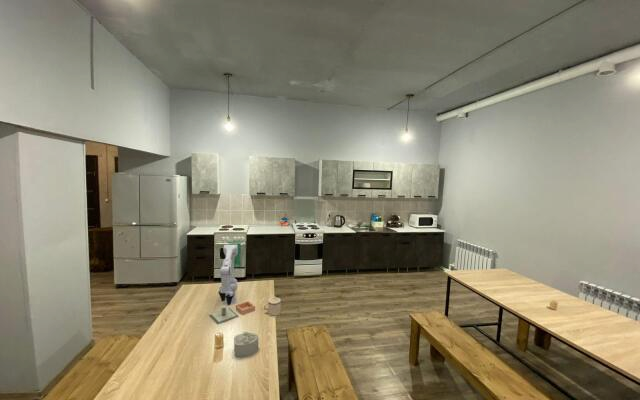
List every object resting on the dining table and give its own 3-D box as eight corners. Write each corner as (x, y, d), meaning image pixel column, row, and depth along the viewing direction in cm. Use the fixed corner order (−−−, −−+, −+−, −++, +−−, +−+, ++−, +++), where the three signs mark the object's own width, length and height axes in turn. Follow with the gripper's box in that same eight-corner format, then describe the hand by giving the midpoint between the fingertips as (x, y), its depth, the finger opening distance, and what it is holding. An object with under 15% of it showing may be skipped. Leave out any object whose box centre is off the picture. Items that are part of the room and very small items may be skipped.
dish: (235, 310, 195) (235, 305, 194) (248, 306, 201) (248, 300, 201) (242, 316, 187) (242, 310, 187) (255, 311, 194) (255, 306, 194)
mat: (208, 315, 186) (208, 315, 186) (229, 308, 196) (229, 308, 196) (217, 325, 175) (217, 324, 175) (239, 317, 185) (239, 316, 185)
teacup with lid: (280, 308, 198) (280, 293, 197) (281, 315, 189) (281, 299, 188) (263, 310, 195) (263, 294, 194) (263, 317, 186) (263, 300, 185)
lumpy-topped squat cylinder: (234, 346, 155) (234, 332, 154) (257, 342, 159) (257, 328, 158) (234, 358, 145) (234, 343, 144) (259, 354, 149) (259, 339, 148)
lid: (211, 315, 186) (211, 308, 185) (228, 309, 194) (228, 302, 194) (218, 322, 177) (218, 315, 177) (236, 316, 185) (236, 309, 185)
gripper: (215, 282, 185) (215, 301, 186) (226, 288, 175) (226, 308, 177) (224, 279, 190) (224, 297, 192) (235, 285, 181) (235, 304, 182)
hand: (226, 302), depth 185 cm, fingers open, 7 cm apart
